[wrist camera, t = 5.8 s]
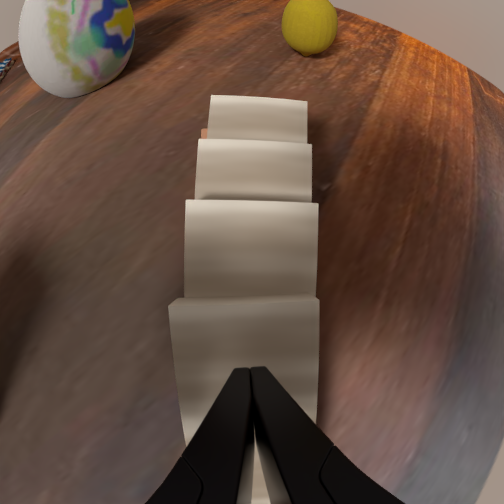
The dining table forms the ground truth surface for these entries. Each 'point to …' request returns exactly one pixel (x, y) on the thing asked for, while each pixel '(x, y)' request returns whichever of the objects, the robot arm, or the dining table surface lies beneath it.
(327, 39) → the lemon
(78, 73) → the decorative egg
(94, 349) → the dining table surface
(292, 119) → the domino
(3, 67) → the woven mat
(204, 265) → the domino
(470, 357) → the dining table surface
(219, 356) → the domino
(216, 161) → the domino
